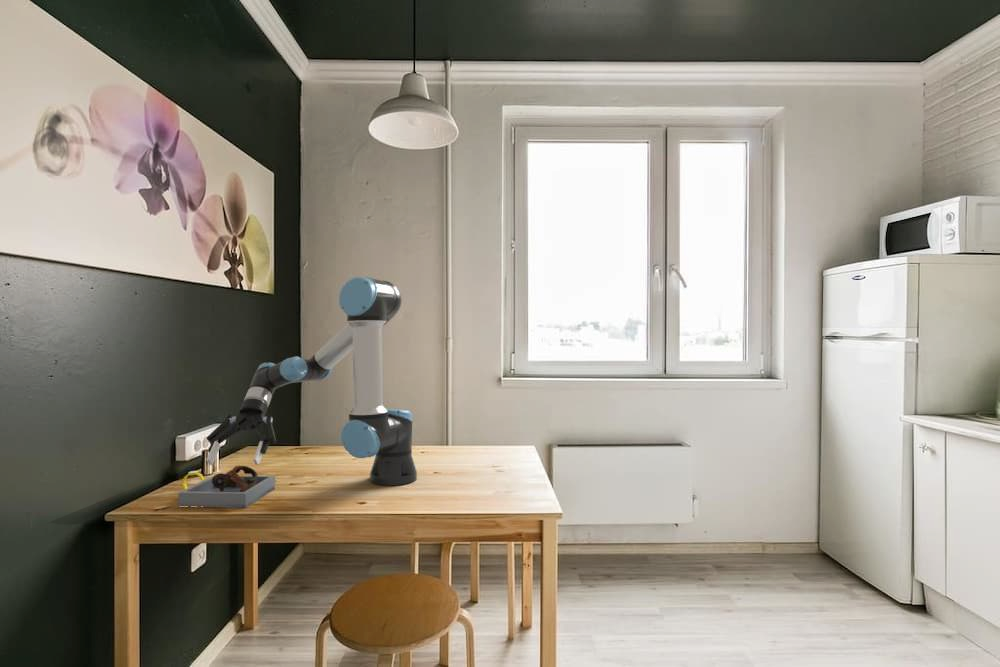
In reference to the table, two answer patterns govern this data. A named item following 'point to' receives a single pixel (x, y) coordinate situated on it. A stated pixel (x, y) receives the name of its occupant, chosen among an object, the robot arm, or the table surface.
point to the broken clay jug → (235, 479)
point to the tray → (225, 494)
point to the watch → (192, 474)
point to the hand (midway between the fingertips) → (232, 462)
